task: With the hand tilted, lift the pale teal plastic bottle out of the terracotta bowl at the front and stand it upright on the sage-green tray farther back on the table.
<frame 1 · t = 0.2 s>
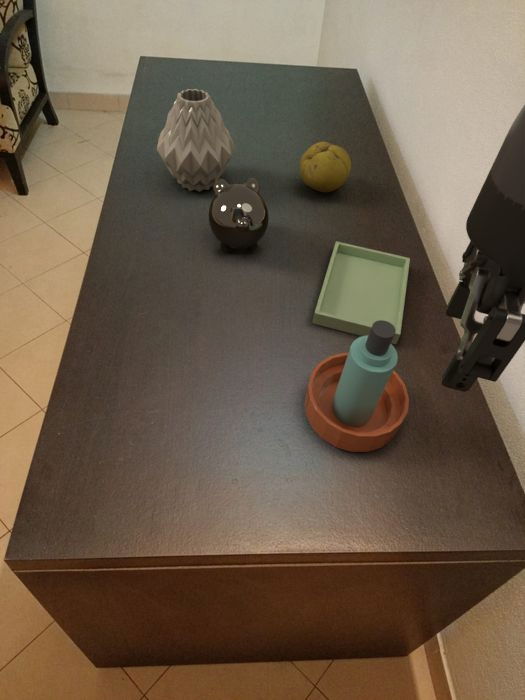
hand: (455, 348, 41), 28 cm above the table, tool pointing down, fingers open, 8 cm apart
bowl: (351, 410, 69), on the table
tray: (362, 294, 85), on the table
fruit: (321, 189, 107), on the table
bottle: (351, 408, 69), point 1 cm above the table, touching bowl
vase: (197, 182, 105), on the table
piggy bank: (237, 242, 93), on the table
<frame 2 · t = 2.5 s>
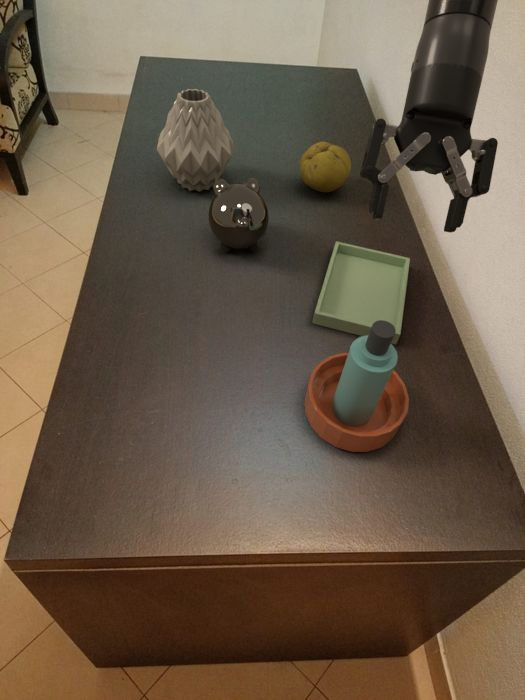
hand: (413, 225, 54), 27 cm above the table, tool tilted 40°, fingers open, 8 cm apart
nothing on the table moved.
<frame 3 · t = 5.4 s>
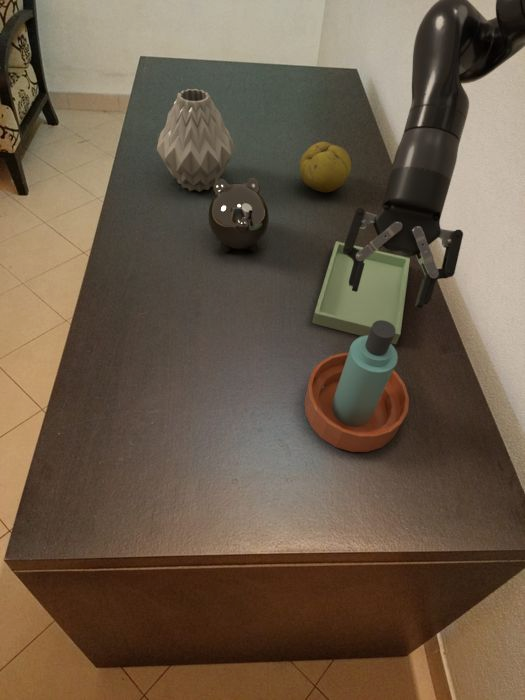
hand: (386, 299, 62), 16 cm above the table, tool tilted 45°, fingers open, 8 cm apart
nothing on the table moved.
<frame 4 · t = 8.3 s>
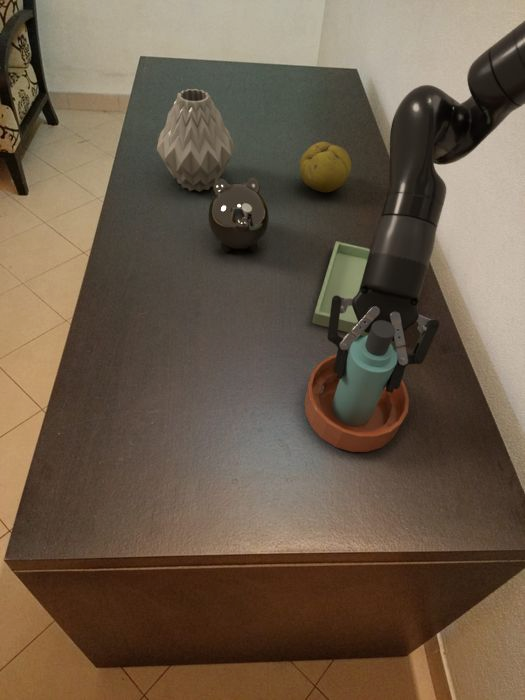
hand: (363, 384, 61), 9 cm above the table, tool tilted 45°, fingers closed on bottle, 6 cm apart
bottle: (351, 408, 69), point 1 cm above the table, touching bowl, gripper
everything else where it was.
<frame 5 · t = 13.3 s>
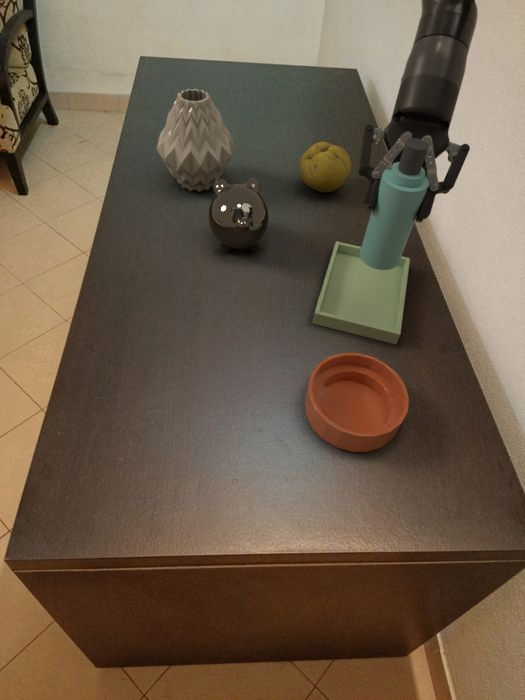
hand: (394, 215, 63), 22 cm above the table, tool tilted 45°, fingers closed on bottle, 6 cm apart
bottle: (379, 256, 70), point 14 cm above the table, touching gripper
everything else where it was.
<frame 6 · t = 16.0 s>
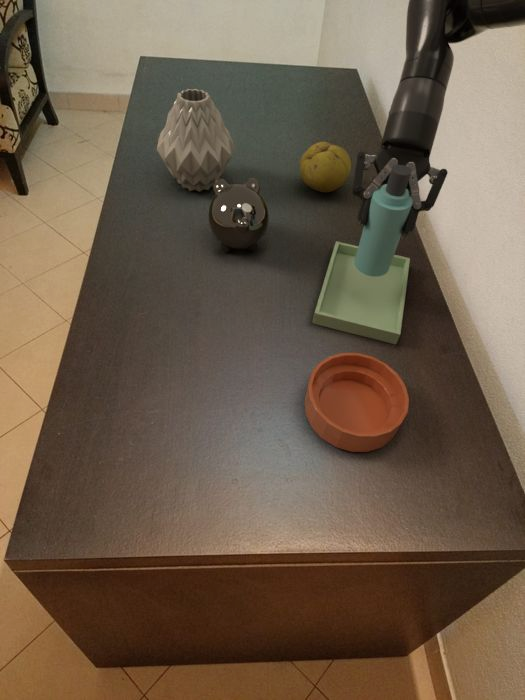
hand: (383, 229, 73), 15 cm above the table, tool tilted 45°, fingers closed on bottle, 6 cm apart
bottle: (371, 264, 80), point 7 cm above the table, touching gripper
everything else where it was.
when the fingers open (9 cm above the table, at t = 18.3 s): bottle stays where it is, resting on tray.
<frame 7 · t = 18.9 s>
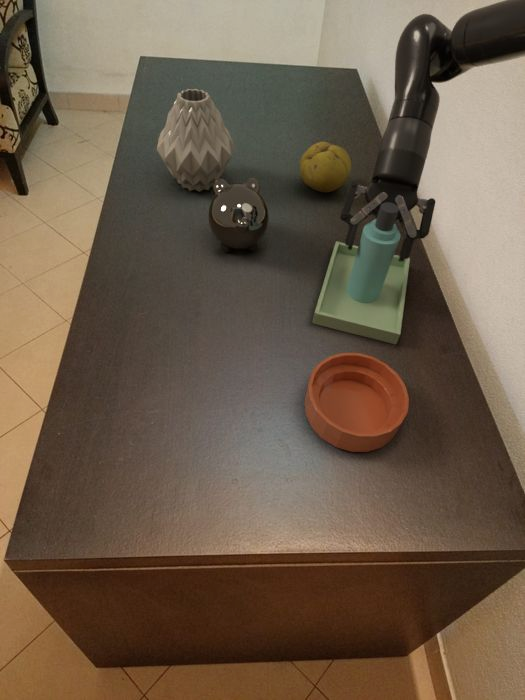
hand: (375, 255, 77), 10 cm above the table, tool tilted 45°, fingers open, 8 cm apart
bottle: (363, 291, 85), point 1 cm above the table, touching tray
everything else where it was.
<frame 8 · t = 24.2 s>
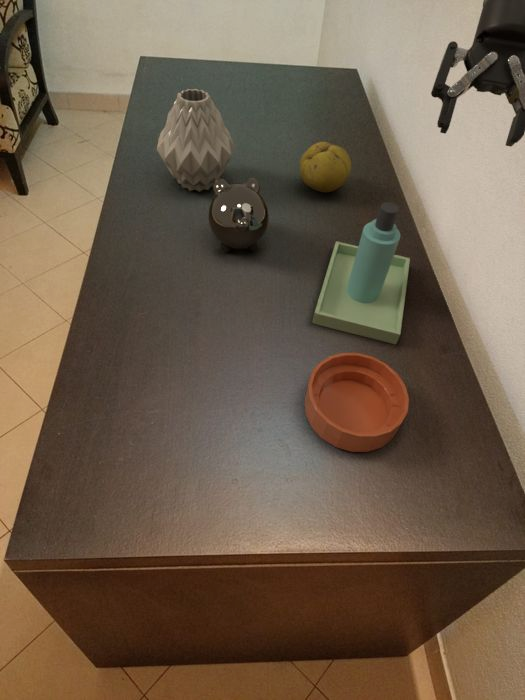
hand: (477, 137, 61), 31 cm above the table, tool tilted 45°, fingers open, 8 cm apart
nothing on the table moved.
at the end: bottle inside the target area in the tray (0.1 cm from its centre), point 0.6 cm above the tray's base; bottle tilted 0°; the gripper is holding nothing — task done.
